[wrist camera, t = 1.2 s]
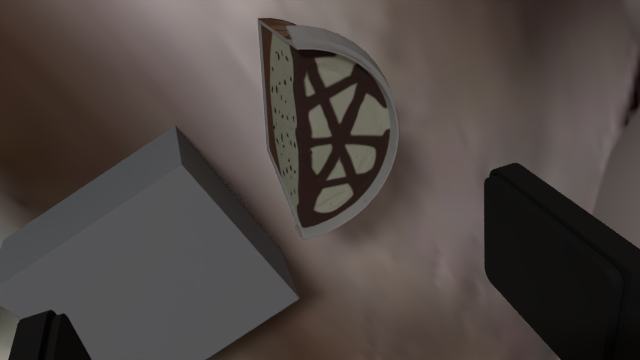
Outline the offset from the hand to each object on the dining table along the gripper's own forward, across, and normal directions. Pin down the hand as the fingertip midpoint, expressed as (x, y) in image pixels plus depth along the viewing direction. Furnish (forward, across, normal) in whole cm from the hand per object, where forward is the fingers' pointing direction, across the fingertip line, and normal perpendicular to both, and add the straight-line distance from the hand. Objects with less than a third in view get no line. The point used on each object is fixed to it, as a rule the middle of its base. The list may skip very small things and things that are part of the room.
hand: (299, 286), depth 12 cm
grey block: (+26, +7, +15) cm, 31 cm away
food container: (+26, -6, +5) cm, 27 cm away
